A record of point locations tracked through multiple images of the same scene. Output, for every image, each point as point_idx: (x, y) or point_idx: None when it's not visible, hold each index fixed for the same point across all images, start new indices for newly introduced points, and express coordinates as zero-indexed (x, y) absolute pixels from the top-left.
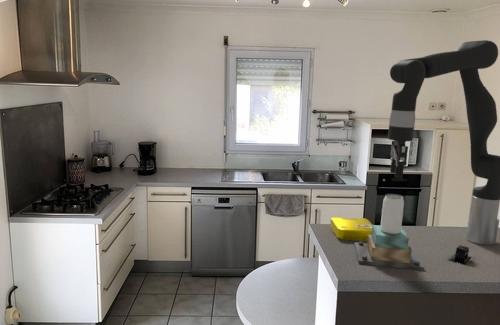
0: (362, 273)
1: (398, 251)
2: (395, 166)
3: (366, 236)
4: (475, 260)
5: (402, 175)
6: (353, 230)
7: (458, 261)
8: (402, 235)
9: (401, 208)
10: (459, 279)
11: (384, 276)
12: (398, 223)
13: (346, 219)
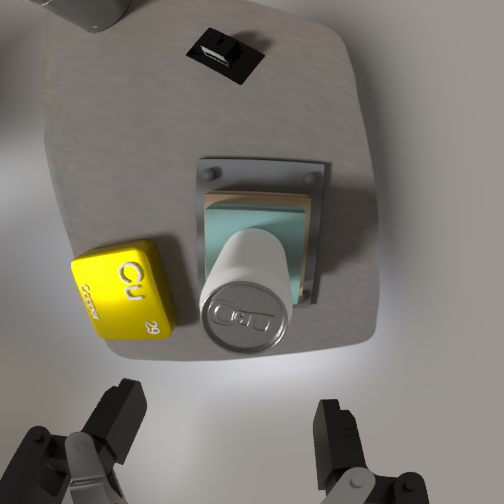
0: (355, 302)
1: (308, 231)
2: (126, 424)
3: (158, 271)
4: (227, 27)
5: (339, 412)
6: (162, 309)
7: (247, 64)
8: (285, 227)
9: (282, 272)
10: (353, 100)
11: (365, 263)
12: (283, 255)
13: (97, 310)
